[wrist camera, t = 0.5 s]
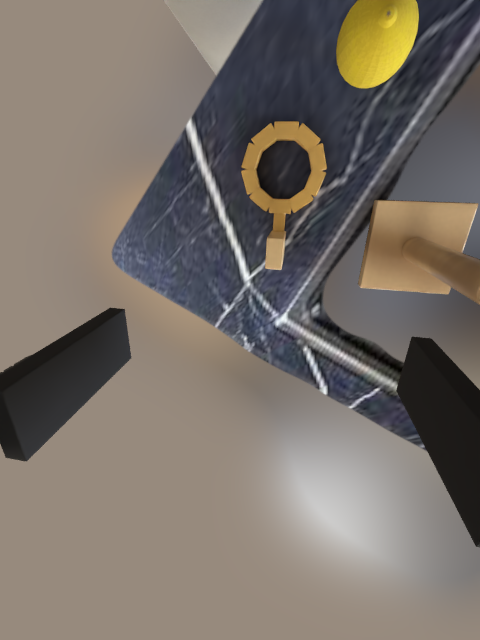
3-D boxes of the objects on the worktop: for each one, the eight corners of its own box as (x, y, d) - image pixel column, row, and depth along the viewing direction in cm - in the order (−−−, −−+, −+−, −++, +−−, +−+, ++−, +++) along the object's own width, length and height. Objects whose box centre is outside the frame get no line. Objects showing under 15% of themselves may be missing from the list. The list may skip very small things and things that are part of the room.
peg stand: (374, 199, 30) (440, 207, 16) (470, 202, 29) (633, 213, 15) (357, 284, 34) (400, 349, 20) (442, 290, 33) (552, 364, 19)
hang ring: (244, 124, 30) (233, 109, 24) (331, 124, 28) (339, 108, 23) (241, 254, 35) (230, 266, 30) (313, 259, 34) (317, 272, 28)
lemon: (334, 25, 26) (348, -40, 18) (403, 16, 25) (447, -56, 17) (329, 102, 28) (340, 71, 21) (392, 96, 27) (426, 62, 20)
